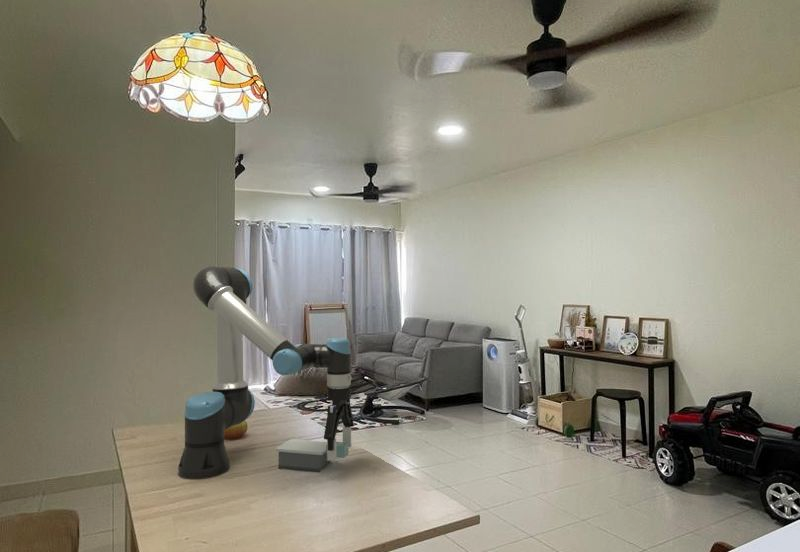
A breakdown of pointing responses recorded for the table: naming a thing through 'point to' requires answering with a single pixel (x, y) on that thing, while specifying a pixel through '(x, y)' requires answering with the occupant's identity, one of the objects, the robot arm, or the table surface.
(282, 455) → the tub
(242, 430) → the apple
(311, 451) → the lid
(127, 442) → the table surface
